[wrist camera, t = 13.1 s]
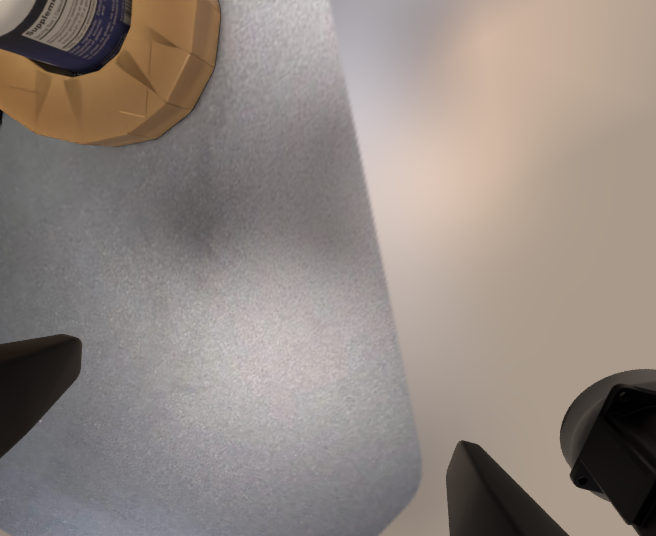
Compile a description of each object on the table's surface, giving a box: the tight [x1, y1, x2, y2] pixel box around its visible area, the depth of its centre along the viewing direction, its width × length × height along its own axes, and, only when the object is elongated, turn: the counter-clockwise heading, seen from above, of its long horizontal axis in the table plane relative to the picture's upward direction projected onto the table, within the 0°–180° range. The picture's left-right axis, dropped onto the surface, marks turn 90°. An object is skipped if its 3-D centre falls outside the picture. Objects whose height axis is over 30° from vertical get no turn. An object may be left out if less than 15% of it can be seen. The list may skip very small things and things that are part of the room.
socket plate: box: [0, 0, 221, 147], centre depth 17 cm, size 11×11×2 cm
